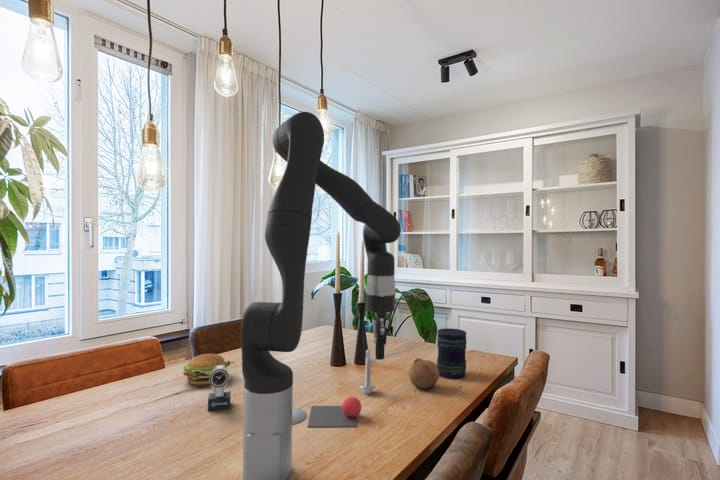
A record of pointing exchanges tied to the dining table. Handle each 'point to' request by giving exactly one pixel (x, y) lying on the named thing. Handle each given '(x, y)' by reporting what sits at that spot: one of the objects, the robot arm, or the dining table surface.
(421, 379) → the onion
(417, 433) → the dining table surface
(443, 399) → the dining table surface
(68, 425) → the dining table surface
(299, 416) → the disc
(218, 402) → the watch
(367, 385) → the screw
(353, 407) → the ball
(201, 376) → the food
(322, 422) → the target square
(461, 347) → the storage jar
